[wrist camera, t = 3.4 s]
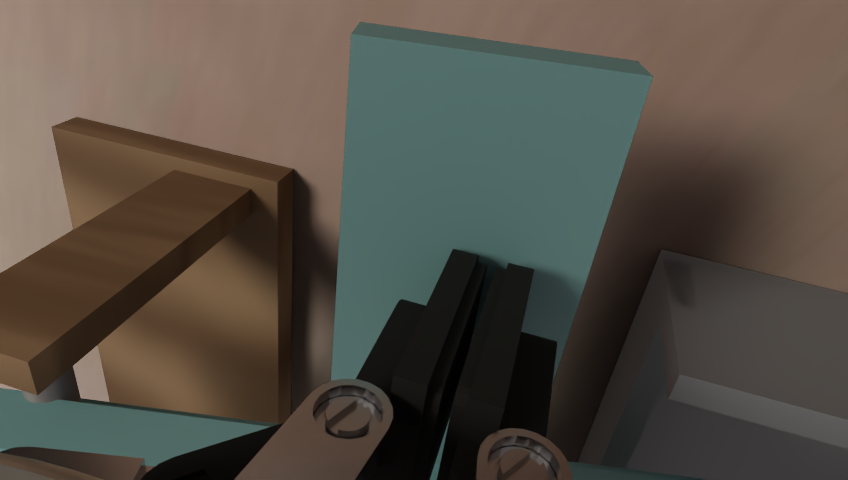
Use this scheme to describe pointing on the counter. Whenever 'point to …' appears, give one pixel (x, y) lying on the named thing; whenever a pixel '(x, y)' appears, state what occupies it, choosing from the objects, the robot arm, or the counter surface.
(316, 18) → the counter surface
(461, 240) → the lever arm
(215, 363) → the lever stand
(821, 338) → the bin
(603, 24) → the counter surface
